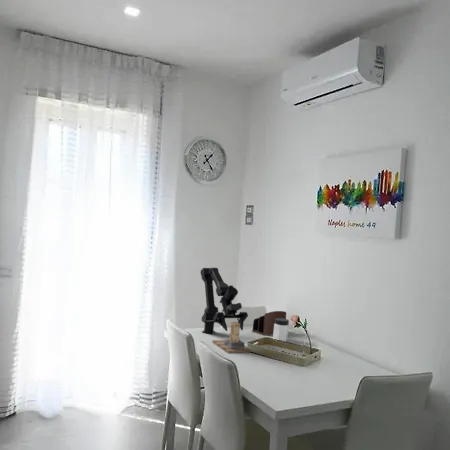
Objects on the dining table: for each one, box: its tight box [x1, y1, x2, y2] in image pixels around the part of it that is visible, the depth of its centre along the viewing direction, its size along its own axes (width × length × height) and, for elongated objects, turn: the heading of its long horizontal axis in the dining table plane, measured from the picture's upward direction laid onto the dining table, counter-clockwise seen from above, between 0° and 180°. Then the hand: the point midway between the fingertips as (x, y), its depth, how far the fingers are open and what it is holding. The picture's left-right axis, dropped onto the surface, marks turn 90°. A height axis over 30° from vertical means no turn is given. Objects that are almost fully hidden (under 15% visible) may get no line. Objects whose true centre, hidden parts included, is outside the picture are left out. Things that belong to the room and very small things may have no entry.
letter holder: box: [251, 310, 287, 336], centre depth 304 cm, size 10×20×14 cm, turn 132°
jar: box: [272, 318, 290, 342], centre depth 287 cm, size 9×8×12 cm
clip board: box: [211, 338, 253, 354], centre depth 261 cm, size 20×14×4 cm
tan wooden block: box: [228, 321, 241, 343], centre depth 259 cm, size 5×3×12 cm, turn 25°
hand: (234, 330), depth 259 cm, fingers open, 9 cm apart
